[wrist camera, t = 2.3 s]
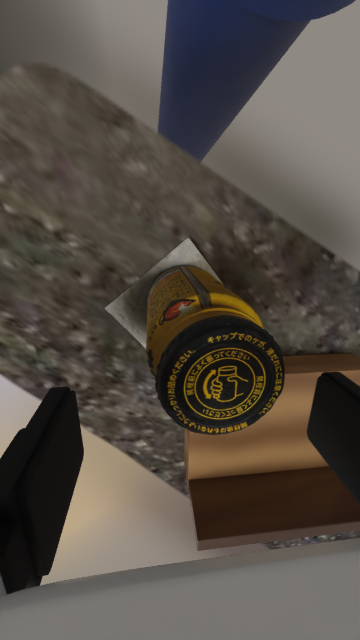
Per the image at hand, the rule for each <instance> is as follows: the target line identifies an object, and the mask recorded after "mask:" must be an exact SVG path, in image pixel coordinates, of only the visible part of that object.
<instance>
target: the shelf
mask: <svg viewBox="0 0 360 640" xmlns="http://www.w3.org/2000/svg"><path fill="white" fill-rule="evenodd" d="M282 358H283V361H284V366H285V381H284V387H283V390H282V393H281V394H280V396H279V397H278V398H277V400H276V401H275V403H274V405H273V407H272V408H271V410H270V411H268V412H267V413H266V414H265V415H264V416H263V417H261V418H260V419H259V420H258V421H256V422H255V423H254V424H252V425H250V426H248V427H246V428H244V429H243V430H239V431H235V432H231V433H228V434H220V435H207V434H200V433H194V432H191V431H189V430H188V429H186V428H185V445H184V464H185V471H186V478H187V485H188V491H189V498H190V505H191V512H192V519H193V525H194V532H195V539H196V546H197V550H198V551H200V550H208V549H216V548H224V547H232V546H240V545H248V544H256V543H264V542H272V541H280V540H288V539H296V538H304V537H312V536H320V535H328V534H336V533H344V532H352V531H360V505H359V504H358V503H357V501H356V500H355V499H354V497H353V496H352V495H351V494H350V492H349V491H348V490H347V488H346V487H345V486H344V485H343V483H342V482H341V481H340V479H339V478H338V477H337V476H336V474H335V473H334V472H333V470H332V469H331V468H330V466H329V465H328V464H327V463H326V461H325V460H324V459H323V457H322V456H321V455H320V454H319V452H318V451H317V450H316V448H315V447H314V446H313V444H312V443H311V442H310V440H309V439H308V436H307V427H308V422H309V417H310V412H311V407H312V402H313V397H314V392H315V387H316V383H317V379H318V377H319V376H321V374H322V373H324V372H340V373H342V374H343V375H345V376H346V377H348V378H349V379H350V380H352V381H353V382H354V383H356V384H357V385H359V386H360V358H358V357H357V356H355V355H353V354H352V353H344V354H323V355H301V356H282Z"/></svg>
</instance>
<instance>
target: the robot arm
mask: <svg viewBox="0 0 360 640" xmlns="http://www.w3.org/2000/svg"><path fill="white" fill-rule="evenodd" d="M307 436H308V439H309V440H310V442H311V443H312V444H313V446H314V447H315V448H316V450H317V451H318V452H319V454H320V455H321V456H322V457H323V459H324V460H325V461H326V463H327V464H328V465H329V466H330V468H331V469H332V470H333V472H334V473H335V474H336V476H337V477H338V478H339V479H340V481H341V482H342V483H343V485H344V486H345V487H346V488H347V490H348V491H349V492H350V494H351V495H352V496H353V497H354V499H355V500H356V501H357V503H358V504H359V505H360V386H359V385H357V384H356V383H354V382H353V381H352V380H350V379H349V378H348V377H346V376H345V375H343V374H342V373H340V372H324V373H322V374H321V376H319V377H318V379H317V383H316V387H315V392H314V397H313V402H312V407H311V412H310V417H309V422H308V427H307ZM83 454H84V449H83V442H82V435H81V428H80V421H79V414H78V407H77V400H76V394H75V391H70V388H69V387H55V388H51V389H50V390H49V391H48V393H47V395H46V396H45V398H44V399H43V401H42V402H41V404H40V406H39V407H38V409H37V410H36V412H35V414H34V415H33V417H32V418H31V420H30V421H29V423H28V425H27V426H26V428H23V429H21V430H19V432H18V433H17V434H16V436H15V437H14V439H13V440H12V442H11V443H10V445H9V446H8V448H7V449H6V451H5V452H4V454H3V455H2V457H1V459H0V640H360V538H355V539H348V540H340V541H333V542H325V543H318V544H310V545H303V546H295V547H288V548H281V549H273V550H266V551H259V552H252V553H245V554H237V555H230V556H223V557H216V558H209V559H202V560H195V561H188V562H181V563H173V564H167V565H159V566H152V567H145V568H138V569H131V570H126V571H119V572H114V573H107V574H101V575H94V576H89V577H82V578H77V579H70V580H64V581H59V582H55V583H50V584H46V585H41V586H40V583H41V580H42V576H45V575H48V574H49V572H50V570H51V567H52V564H53V561H54V557H55V554H56V551H57V547H58V544H59V540H60V537H61V533H62V530H63V526H64V523H65V519H66V516H67V513H68V509H69V506H70V502H71V499H72V495H73V491H74V488H75V485H76V482H77V478H78V475H79V471H80V468H81V464H82V461H83Z"/></svg>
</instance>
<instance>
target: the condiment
mask: <svg viewBox="0 0 360 640" xmlns="http://www.w3.org/2000/svg"><path fill="white" fill-rule="evenodd" d="M105 309H106V310H107V311H108V312H109V313H110V314H111V315H112V316H113V317H115V319H116V320H117V321H118V322H120V323H121V324H122V325H123V327H125V328H126V329H127V330H128V331H129V332H130V333H131V334H132V335H133V336H134V337H135V338H136V339H137V340H138V341H139V342H140V343H141V344H142V345H143V346H144V347H145V349H146V355H147V361H148V364H149V368H150V370H151V373H152V374H153V376H154V378H155V381H156V383H155V388H156V392H157V393H158V399H159V400H160V402H161V405H162V407H163V409H164V410H165V411H166V413H167V414H168V415H169V416H170V417H171V418H172V419H173V420H174V421H175V422H176V423H177V424H178V425H180V426H182V427H184V428H186V429H188V430H189V431H191V432H194V433H200V434H207V435H220V434H228V433H231V432H235V431H239V430H243V429H244V428H246V427H248V426H250V425H252V424H254V423H255V422H256V421H258V420H259V419H260V418H261V417H263V416H264V415H265V414H266V413H267V412H268V411H270V410H271V408H272V407H273V405H274V403H275V401H276V400H277V398H278V397H279V396H280V394H281V393H282V390H283V387H284V381H285V366H284V361H283V358H282V353H281V350H280V347H279V345H278V344H277V343H276V342H275V340H274V338H273V336H271V335H270V334H269V333H268V332H267V331H266V330H264V327H263V325H262V323H261V321H260V319H259V316H258V315H257V314H256V312H255V311H254V310H253V308H252V307H250V305H249V304H248V303H247V302H245V301H244V300H243V299H242V298H240V297H239V296H238V295H236V294H234V293H233V292H232V291H230V290H229V289H228V288H227V287H225V286H224V284H223V283H222V282H221V280H220V279H219V278H218V276H217V275H216V274H215V272H214V271H213V270H212V268H211V267H210V266H209V264H208V263H207V262H206V260H205V259H204V257H203V256H202V255H201V254H200V252H199V251H198V249H197V248H196V247H195V245H194V244H193V243H192V241H191V240H190V239H189V237H188V238H187V239H186V240H185V241H183V242H182V243H181V244H180V245H179V246H178V247H176V248H175V249H174V250H173V251H172V252H170V253H169V254H168V255H167V256H166V257H165V258H163V259H162V260H161V261H160V262H159V263H157V264H156V265H155V266H154V267H153V268H151V269H150V270H149V271H148V272H147V273H146V274H144V275H143V276H142V277H141V278H140V279H139V280H138V281H137V282H135V283H134V284H133V285H132V286H130V287H129V288H128V289H127V290H126V291H124V292H123V293H122V294H121V295H120V296H119V297H118V298H117V299H115V300H114V301H113V302H112V303H111V304H109V305H108V306H107V307H106V308H105Z"/></svg>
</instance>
